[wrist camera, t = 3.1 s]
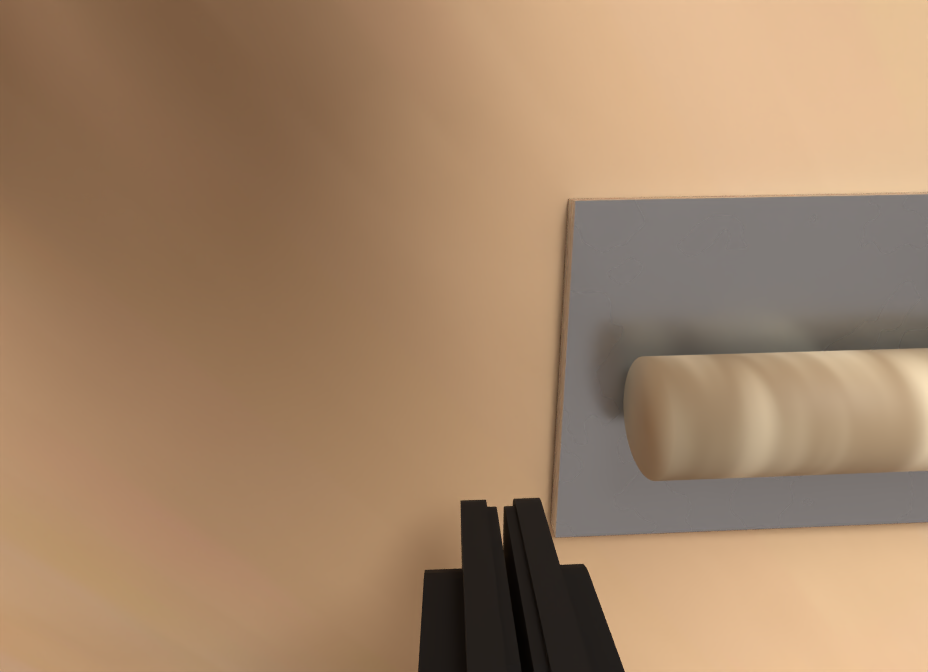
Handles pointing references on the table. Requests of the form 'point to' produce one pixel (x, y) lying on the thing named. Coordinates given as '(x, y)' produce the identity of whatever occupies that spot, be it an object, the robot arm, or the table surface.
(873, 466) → the dowel
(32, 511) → the table surface
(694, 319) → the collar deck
